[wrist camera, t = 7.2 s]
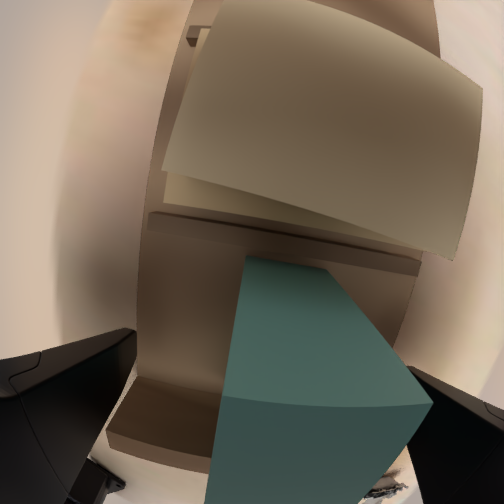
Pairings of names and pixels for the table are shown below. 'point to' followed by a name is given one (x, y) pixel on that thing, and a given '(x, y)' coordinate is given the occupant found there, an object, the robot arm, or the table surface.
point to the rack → (235, 273)
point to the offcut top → (331, 120)
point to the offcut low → (253, 196)
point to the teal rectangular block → (307, 394)
